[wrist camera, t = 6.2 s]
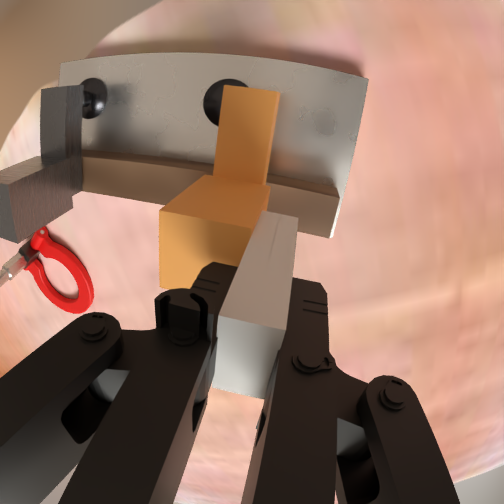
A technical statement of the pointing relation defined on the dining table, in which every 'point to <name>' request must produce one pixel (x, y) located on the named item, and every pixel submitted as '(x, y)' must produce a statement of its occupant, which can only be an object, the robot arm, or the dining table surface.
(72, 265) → the tow hook
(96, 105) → the bolt plate
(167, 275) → the orange toy chair
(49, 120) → the fixed leg
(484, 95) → the dining table surface
